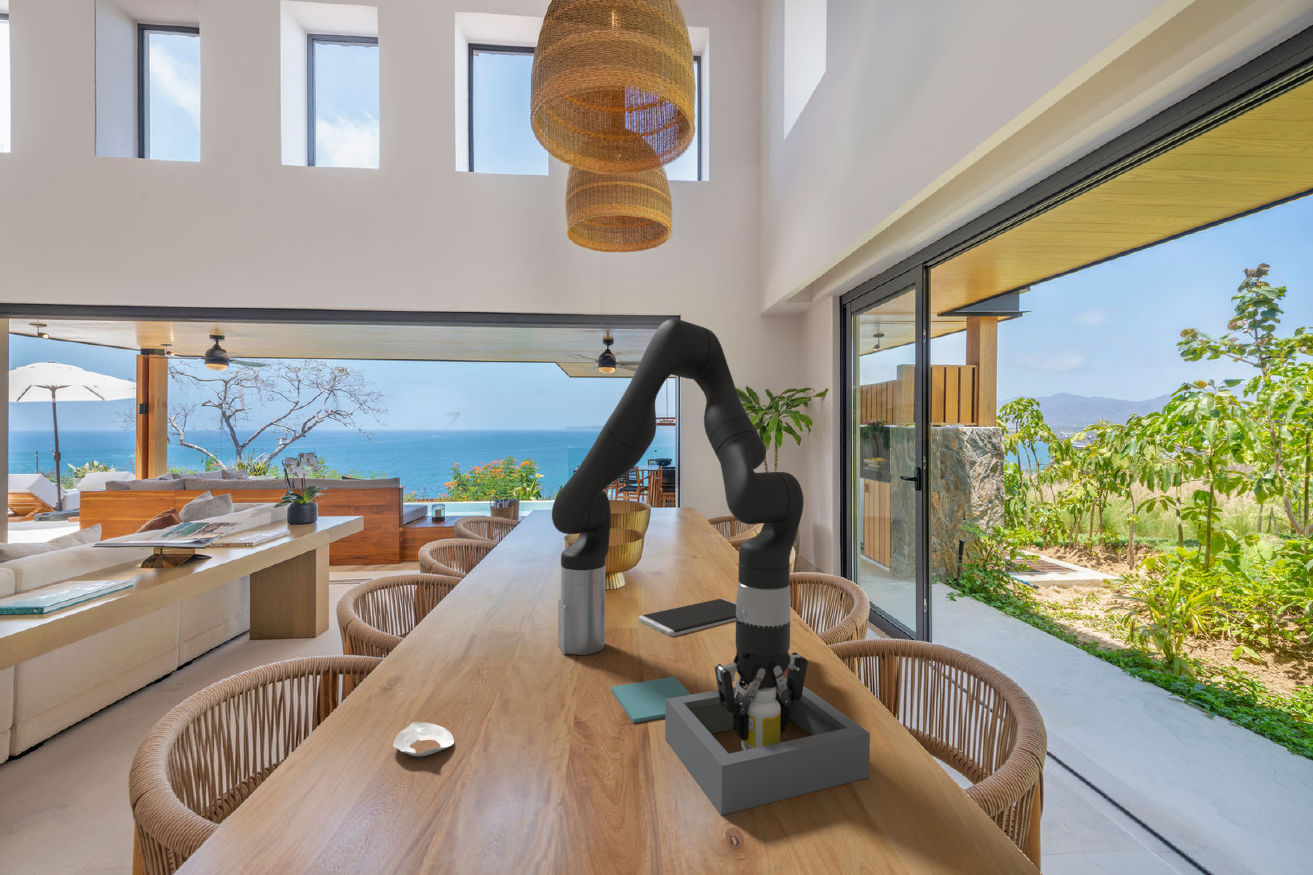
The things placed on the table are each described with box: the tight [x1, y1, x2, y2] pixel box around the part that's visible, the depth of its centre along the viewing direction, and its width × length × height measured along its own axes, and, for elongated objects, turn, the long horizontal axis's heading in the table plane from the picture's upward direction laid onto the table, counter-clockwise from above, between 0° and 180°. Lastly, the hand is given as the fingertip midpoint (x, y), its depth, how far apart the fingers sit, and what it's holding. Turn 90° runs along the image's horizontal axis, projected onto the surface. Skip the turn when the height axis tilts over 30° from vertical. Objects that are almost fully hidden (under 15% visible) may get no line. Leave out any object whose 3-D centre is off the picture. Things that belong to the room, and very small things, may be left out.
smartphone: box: [638, 598, 736, 638], centre depth 141 cm, size 13×27×2 cm, turn 126°
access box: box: [664, 678, 871, 816], centre depth 82 cm, size 22×18×6 cm
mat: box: [610, 676, 692, 724], centre depth 99 cm, size 12×12×1 cm
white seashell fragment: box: [392, 721, 455, 757], centre depth 84 cm, size 8×12×2 cm, turn 36°
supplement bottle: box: [740, 684, 781, 751], centre depth 82 cm, size 5×5×10 cm
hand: (760, 733), depth 82 cm, fingers closed on supplement bottle, 5 cm apart
